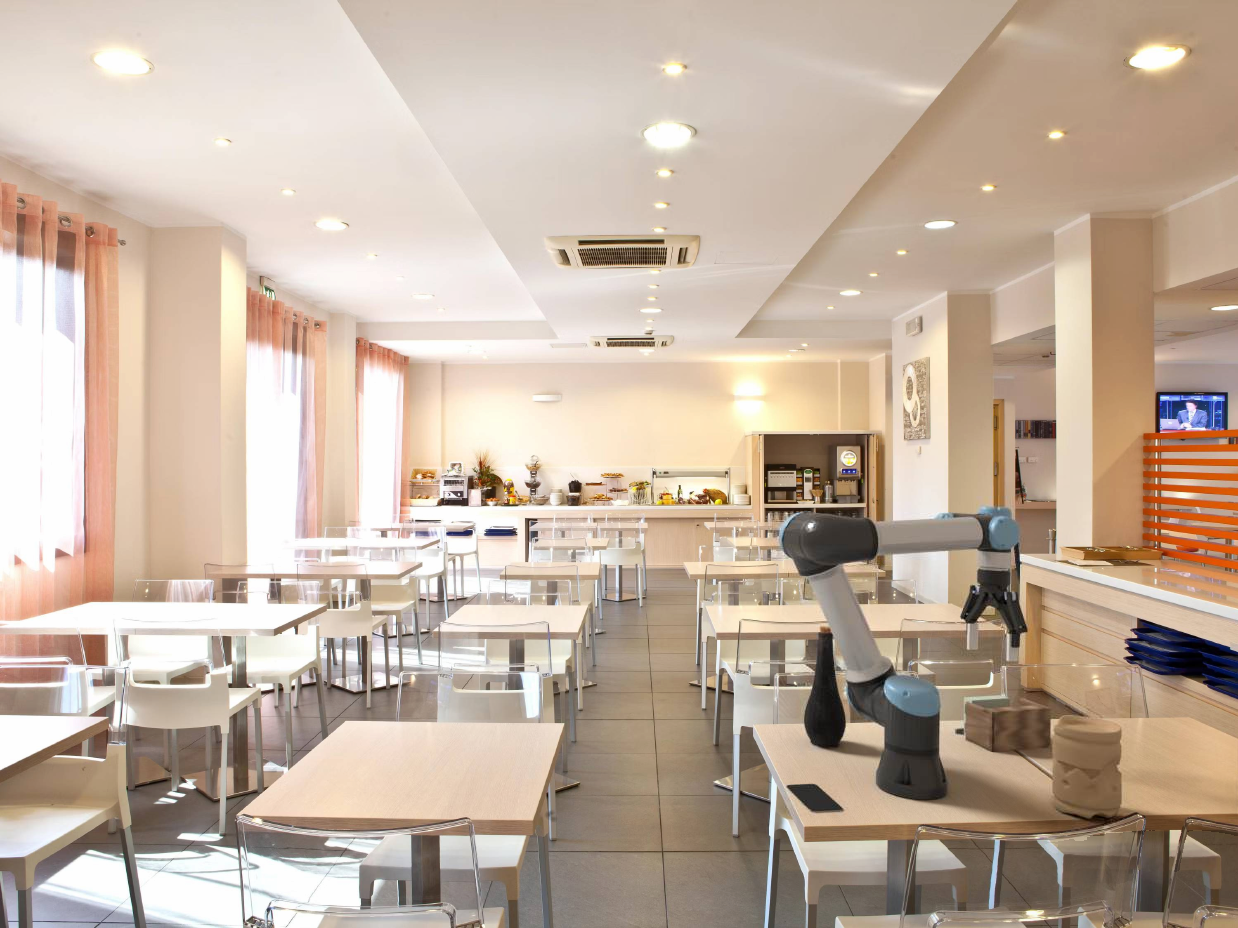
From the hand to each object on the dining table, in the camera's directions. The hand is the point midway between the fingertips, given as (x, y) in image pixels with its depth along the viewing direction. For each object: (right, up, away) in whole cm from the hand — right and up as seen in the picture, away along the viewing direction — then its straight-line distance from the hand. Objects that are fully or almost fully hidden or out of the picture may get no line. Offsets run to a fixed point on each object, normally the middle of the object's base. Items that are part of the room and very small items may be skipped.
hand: (991, 654), depth 203 cm
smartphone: (-50, -25, -27) cm, 62 cm away
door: (+8, -26, +20) cm, 34 cm away
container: (+6, -25, -32) cm, 41 cm away
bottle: (-39, -26, +10) cm, 48 cm away
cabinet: (+9, -26, +15) cm, 32 cm away
